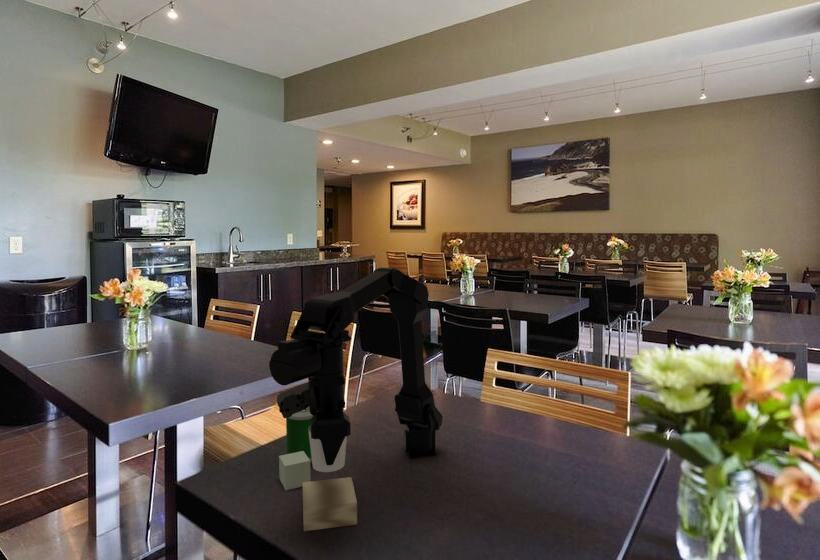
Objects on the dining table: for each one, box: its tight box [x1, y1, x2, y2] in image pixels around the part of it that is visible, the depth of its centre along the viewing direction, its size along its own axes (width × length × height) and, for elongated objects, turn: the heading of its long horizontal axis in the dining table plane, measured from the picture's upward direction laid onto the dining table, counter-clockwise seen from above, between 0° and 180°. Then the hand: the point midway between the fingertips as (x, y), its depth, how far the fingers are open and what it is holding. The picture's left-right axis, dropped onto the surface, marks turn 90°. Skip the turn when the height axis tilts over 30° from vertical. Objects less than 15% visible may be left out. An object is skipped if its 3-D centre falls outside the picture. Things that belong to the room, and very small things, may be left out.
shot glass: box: [308, 425, 348, 473], centre depth 88 cm, size 7×7×7 cm
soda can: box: [285, 407, 313, 464], centre depth 110 cm, size 8×8×12 cm
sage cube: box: [278, 451, 312, 491], centre depth 100 cm, size 5×5×5 cm
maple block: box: [302, 476, 358, 532], centre depth 89 cm, size 9×9×4 cm
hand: (328, 456), depth 88 cm, fingers closed on shot glass, 6 cm apart
